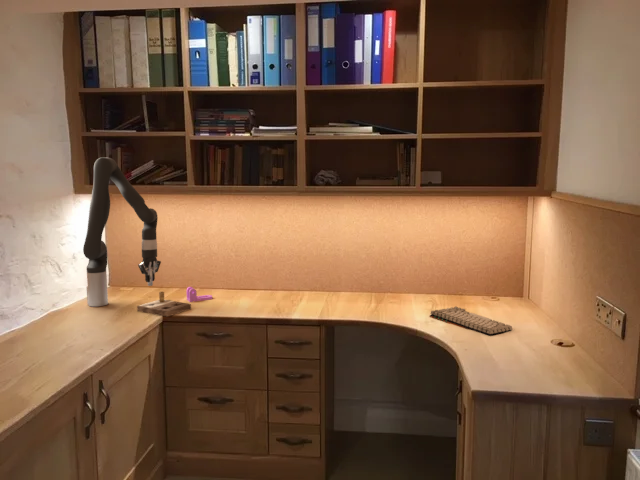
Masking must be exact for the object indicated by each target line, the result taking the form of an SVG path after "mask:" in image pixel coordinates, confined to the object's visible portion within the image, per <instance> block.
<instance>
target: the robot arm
mask: <svg viewBox="0 0 640 480" xmlns="http://www.w3.org/2000/svg"><path fill="white" fill-rule="evenodd" d="M110 180H111V181H112V182H113V183H114V184H115V186H116V188H118V190H119V192H120V194H121V195H122V197H123V198H124V200H125V201H126V203H127V204H129V206H130V207H131V208H132V209H133V211H134V212H135V215H136V216H137V217H138V218H139V219H140V220H141V222H143V227H142V229H141V258H142V261H141V263H138V264H137V266H138V269H139V270H140V272H141V274H142V275H144V277H145V279H144V280H145V282H146V283H148V282H150V275H149V274H150V270H151V268H152V276H153V282H154V281H155V279H156V276H155V275H156V273H158V272H159V270H160V269H159V268H160V267H161V263H162V261H161V260H158V259H157V257H158V243H157V242H158V241H157V226H158V212H157V211H156V210H155V209H154V208H149V206H147V204H146V202H145V199H144V197H143V196H142V195H141V194H140V193H139V191H138V190H137V189H136V188H135V187H134V186H133V184H131V182H130V181H129V180H128V178H127V177H126V176H125V174H124V173H123V171H122V170H121V168H120V167H119V165H118V164H117V162H116V161H115V159H114V158H111V157H109V156H108V157H104V156H102V157H99V158H97V159H96V160H95V162H94V165H93V185H92V191H91V198H90V204H89V211H88V212H89V213H88V221H87V230H86V236H85V239H84V243H83V249H82V250H83V251H82V253H83V255H84V257H85V258H86V259H88V264H87V266H86V279H87V280H86V281H87V282H86V283H87V285H86V297H87V298H86V300H87V303H86V304H87V305H88V306H89V307H96V308H97V307H104V306H107V305H108V304H109V298H108V297H109V295H108V294H109V293H108V278H107V277H108V276H107V275H108V274H107V267H108V266H107V265H108V247H107V245H106V242H104V241H103V239H102V238H103V232H104V229H105V227H106V224H107V223H108V220H109V216H110V209H111V197H110V191H109V189H110V188H109V184H110ZM147 268H148V269H147Z"/></svg>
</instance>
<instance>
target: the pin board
mask: <svg viewBox="0 0 640 480" xmlns="http://www.w3.org/2000/svg"><path fill="white" fill-rule="evenodd" d="M158 296H159V299H156V300H153V301H149V302H146V303H143V304H140V305H137V306H136V310H137V312H140V313H146V314H151V315H157V316H161V317H171V316H173V315H177V314H180V313H182V312H185V311H189V310H191V309H192V307H191V306H192V303H188V302H181V301H176V300H170V299H165V291H159V292H158Z"/></svg>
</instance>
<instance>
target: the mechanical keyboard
mask: <svg viewBox="0 0 640 480" xmlns="http://www.w3.org/2000/svg"><path fill="white" fill-rule="evenodd" d="M428 318H432V319H435V320H437V321H440V322H442V323H443V322H444V323H445V324H450V325H453V326H456V327H459V328H463V329H466V330H470V331H473V332H477V333H479V334H482V335H484V336H488V337H494V336H497V335H498V336H499V335H501V334H503V335H504V334H505V333H509V332H511V331H512V330H514V328H513V326H512V325H510V324H505V323H504V322H501V321H500V322H499V321H497V320H494V319H493V320H492V318H489V317H485V316H483V315H480V314H477V313H473V312H470V311H466V309H465V308H461V307H458V306H454V307H453V306H452V307H446V308H440V309H435V310H431V311H430V315H429V316H428Z"/></svg>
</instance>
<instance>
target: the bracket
mask: <svg viewBox="0 0 640 480" xmlns="http://www.w3.org/2000/svg"><path fill="white" fill-rule="evenodd" d="M197 293H198V292H197V290H196V289H195V288H194V287H193V286H188V287H187V288H186V301H188V302H189V303H191V302H193V301H194V302H201V301H208V300H212V299H213V295H212V294H211V295H210V294H205V295H198V294H197Z"/></svg>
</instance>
